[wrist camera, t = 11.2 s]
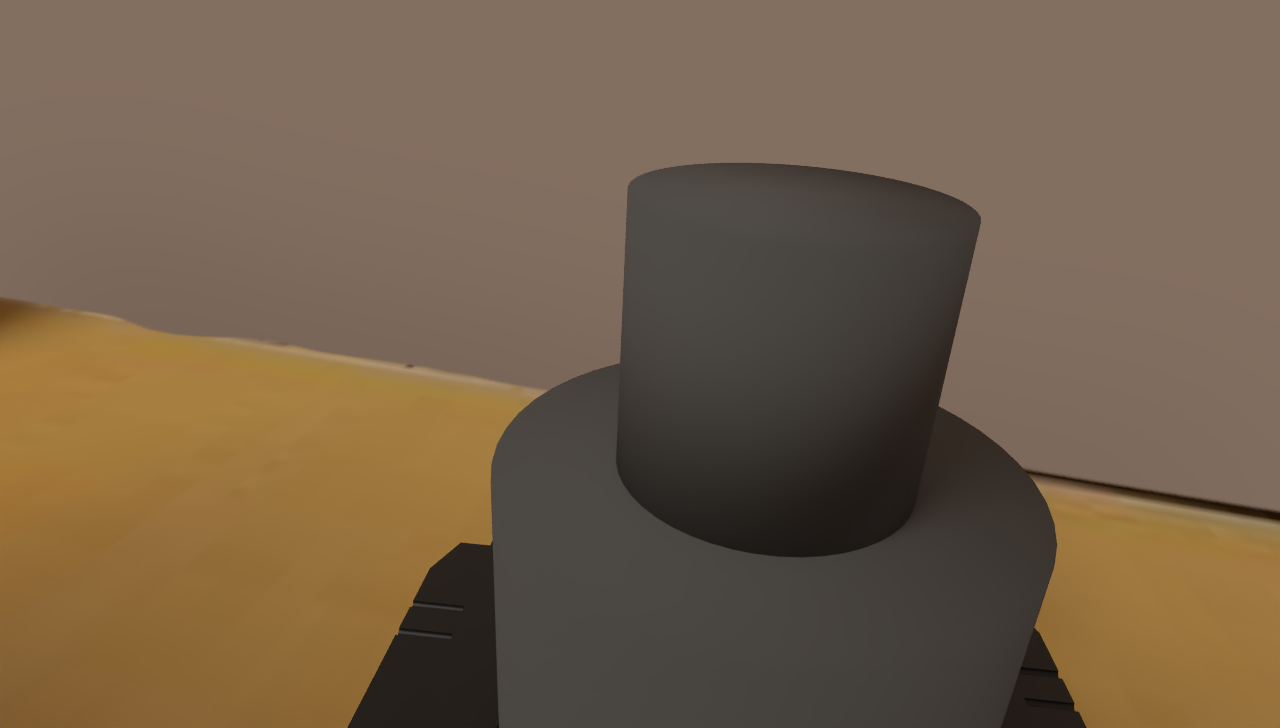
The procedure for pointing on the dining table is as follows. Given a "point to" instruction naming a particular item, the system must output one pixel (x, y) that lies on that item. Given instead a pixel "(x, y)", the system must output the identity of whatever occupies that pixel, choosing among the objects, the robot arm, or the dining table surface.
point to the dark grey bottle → (768, 478)
